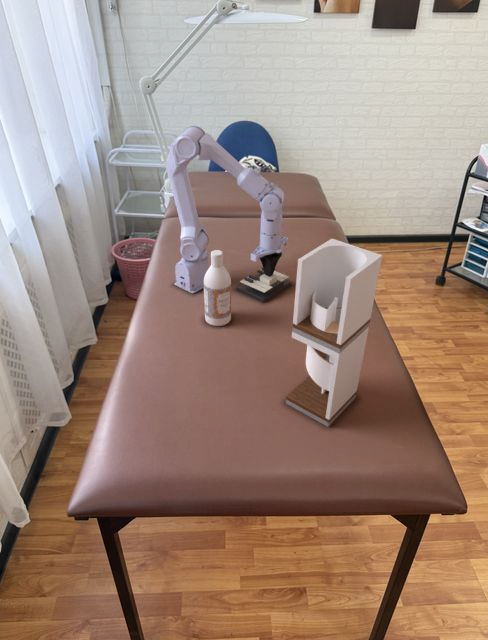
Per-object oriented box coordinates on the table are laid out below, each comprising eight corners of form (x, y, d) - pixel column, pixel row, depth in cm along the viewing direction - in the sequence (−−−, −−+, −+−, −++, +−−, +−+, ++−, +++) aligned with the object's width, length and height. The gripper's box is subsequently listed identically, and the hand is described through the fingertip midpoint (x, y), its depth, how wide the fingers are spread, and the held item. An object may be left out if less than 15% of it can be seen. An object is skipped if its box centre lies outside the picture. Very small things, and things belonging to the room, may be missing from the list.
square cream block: (276, 282, 147) (277, 275, 146) (269, 286, 145) (269, 280, 144) (267, 277, 149) (267, 271, 148) (259, 282, 147) (259, 276, 146)
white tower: (314, 377, 117) (331, 238, 97) (355, 397, 111) (382, 255, 92) (286, 403, 110) (298, 259, 90) (328, 427, 104) (350, 278, 84)
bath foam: (213, 329, 132) (211, 261, 120) (200, 317, 136) (197, 250, 125) (235, 321, 135) (236, 254, 123) (222, 309, 139) (221, 243, 128)
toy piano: (290, 285, 151) (291, 276, 149) (263, 303, 143) (263, 294, 141) (264, 274, 156) (264, 265, 155) (236, 290, 148) (236, 281, 146)
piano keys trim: (289, 277, 149) (289, 274, 149) (264, 292, 142) (264, 290, 141) (265, 267, 154) (265, 265, 153) (239, 281, 146) (239, 279, 146)
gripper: (265, 244, 131) (263, 289, 139) (298, 227, 141) (294, 270, 148) (245, 236, 135) (244, 280, 143) (277, 220, 144) (275, 262, 152)
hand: (268, 274), depth 146 cm, fingers closed
